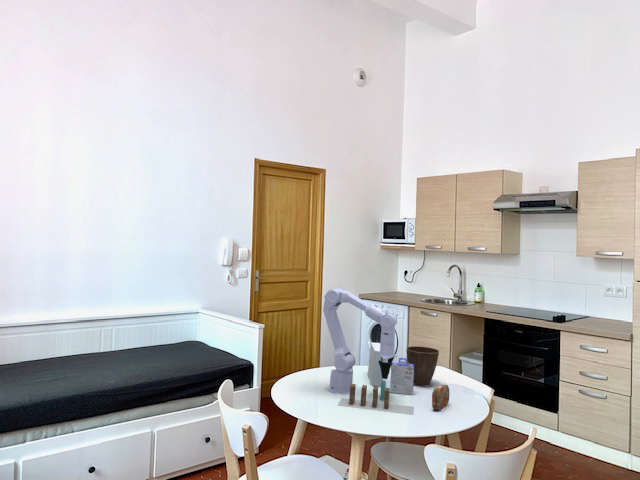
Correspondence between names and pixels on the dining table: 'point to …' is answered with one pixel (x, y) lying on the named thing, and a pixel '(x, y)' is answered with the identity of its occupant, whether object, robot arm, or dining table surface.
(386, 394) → the walnut tile
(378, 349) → the skincare box
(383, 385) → the teal end tile
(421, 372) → the plant pot
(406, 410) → the mat
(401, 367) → the ink cartridge box
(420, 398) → the dining table surface
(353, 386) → the walnut tile
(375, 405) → the walnut tile
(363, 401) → the walnut tile
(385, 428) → the dining table surface
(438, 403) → the tin
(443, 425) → the dining table surface
